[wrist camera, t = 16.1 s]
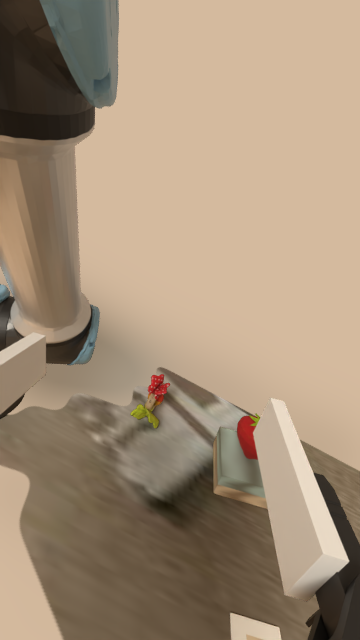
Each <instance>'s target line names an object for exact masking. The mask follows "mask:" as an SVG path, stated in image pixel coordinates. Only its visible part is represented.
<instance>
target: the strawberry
mask: <svg viewBox="0 0 360 640" xmlns="http://www.w3.org/2000/svg"><path fill="white" fill-rule="evenodd" d="M256 416H257V417H255V416H250V415H249V416H244V417H242V418H241V420H240V421H239V422H238V426H237V436H238V439H239V443H240V446H241V448H242V450H243V453H244V455H245V457H246V458H248V459H256V460H258V456H257V451H256V446H255V441H254V435H253V432H254V430H255V428H256V426H257V424H258V422H259V420H260V417H259V416H258V415H257V414H256Z"/></svg>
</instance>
